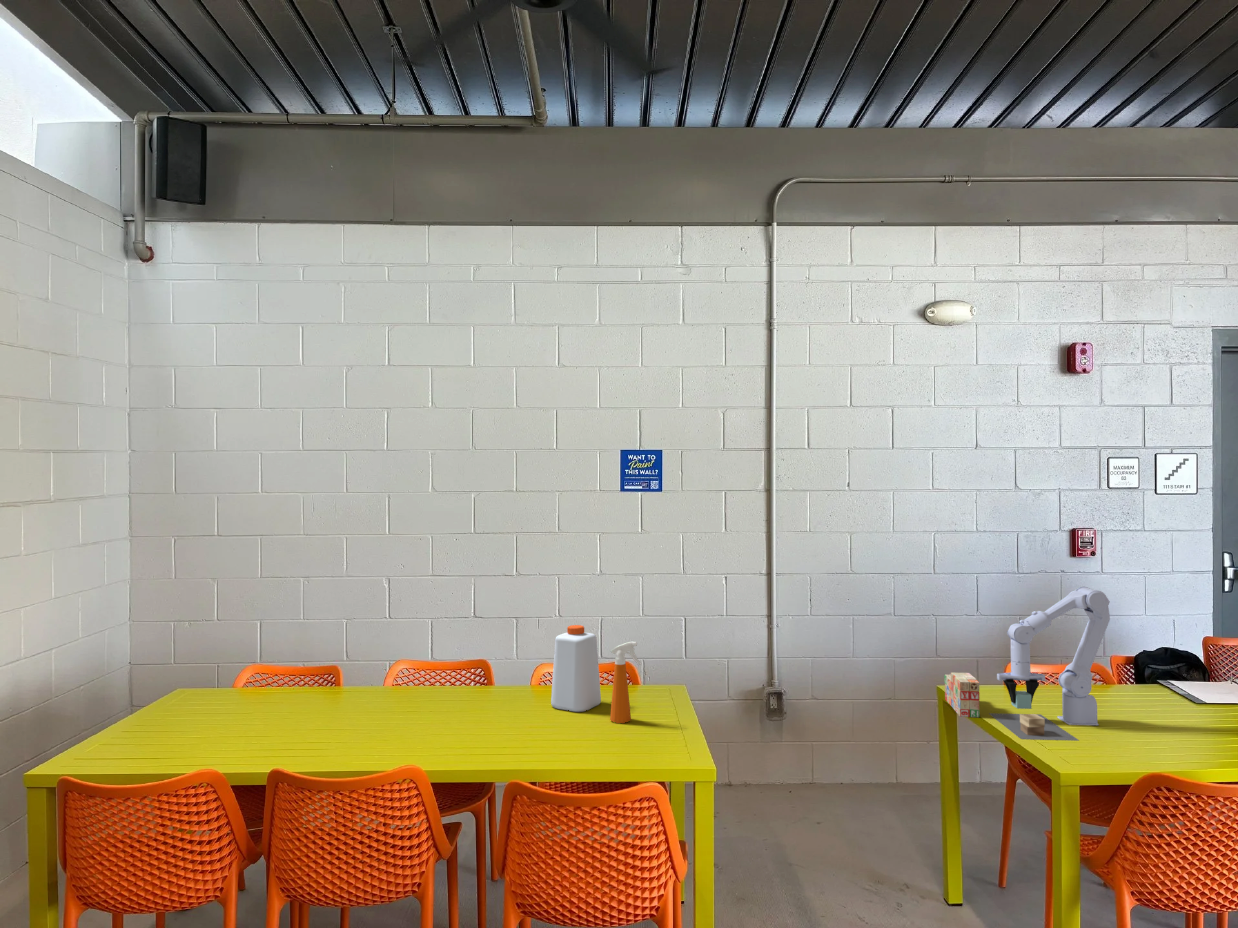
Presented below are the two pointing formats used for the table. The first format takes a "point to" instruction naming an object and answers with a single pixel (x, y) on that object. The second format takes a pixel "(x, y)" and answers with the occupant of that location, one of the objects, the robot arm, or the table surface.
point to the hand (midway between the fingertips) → (1021, 702)
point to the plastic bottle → (575, 671)
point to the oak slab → (1032, 720)
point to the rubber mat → (1049, 734)
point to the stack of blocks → (962, 694)
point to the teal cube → (1022, 700)
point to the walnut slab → (1032, 730)
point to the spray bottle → (621, 684)
